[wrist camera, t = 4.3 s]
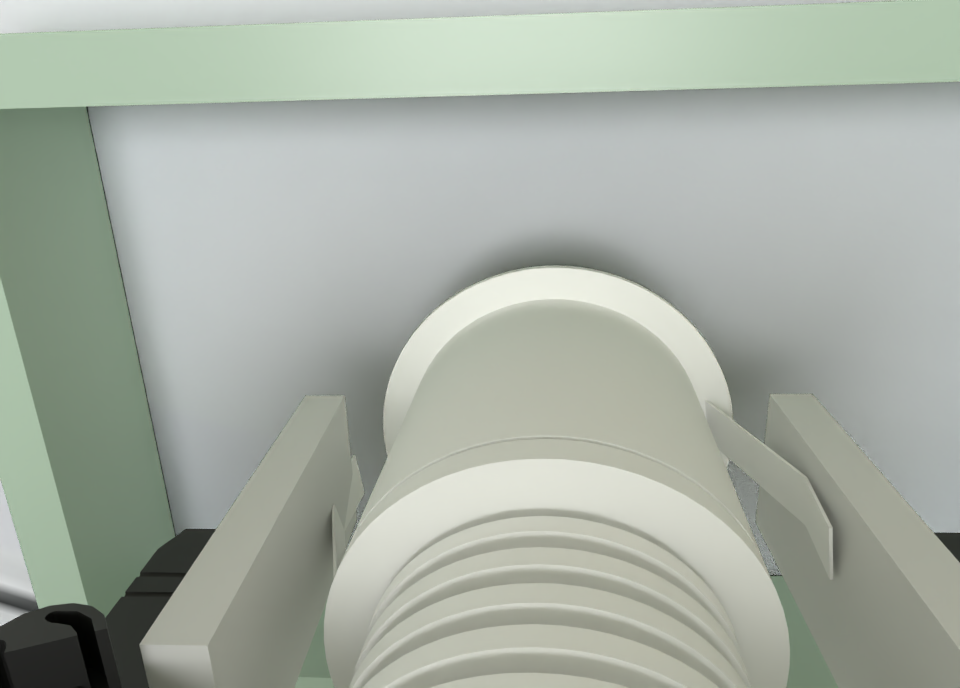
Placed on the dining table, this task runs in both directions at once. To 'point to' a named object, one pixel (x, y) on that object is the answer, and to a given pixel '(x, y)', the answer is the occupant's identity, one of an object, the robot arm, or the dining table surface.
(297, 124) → the dining table surface
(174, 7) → the dining table surface
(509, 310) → the downlight
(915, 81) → the bin
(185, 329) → the dining table surface
